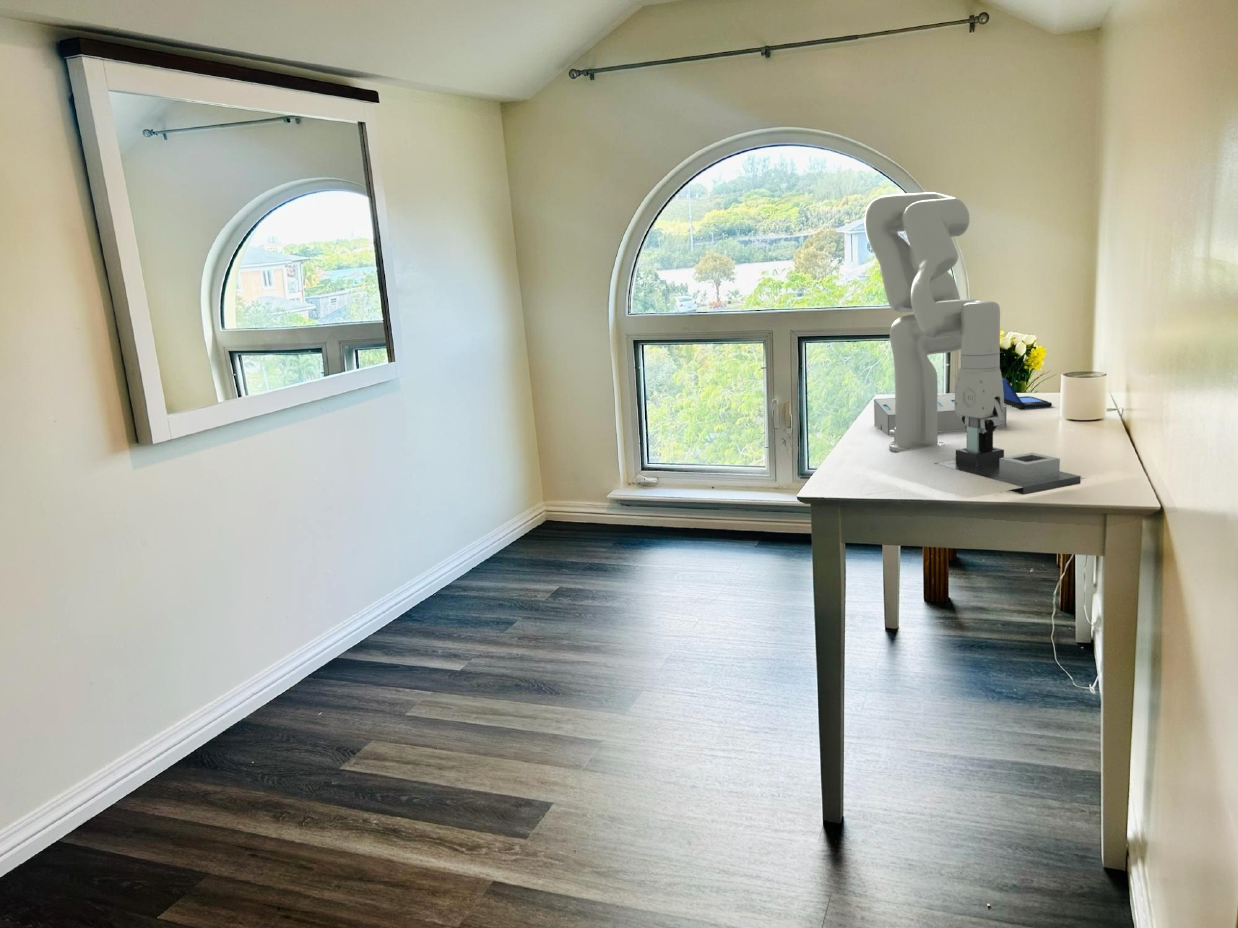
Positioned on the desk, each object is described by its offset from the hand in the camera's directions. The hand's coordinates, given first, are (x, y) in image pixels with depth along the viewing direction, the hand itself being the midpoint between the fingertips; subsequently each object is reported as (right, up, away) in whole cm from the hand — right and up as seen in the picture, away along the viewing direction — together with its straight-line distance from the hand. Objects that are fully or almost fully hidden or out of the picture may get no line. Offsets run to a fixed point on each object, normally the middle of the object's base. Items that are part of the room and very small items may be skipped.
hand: (979, 448), depth 201 cm
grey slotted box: (+8, +6, +51) cm, 52 cm away
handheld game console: (+38, +13, +72) cm, 83 cm away
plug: (0, -3, +1) cm, 3 cm away
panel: (+3, -6, -5) cm, 8 cm away
